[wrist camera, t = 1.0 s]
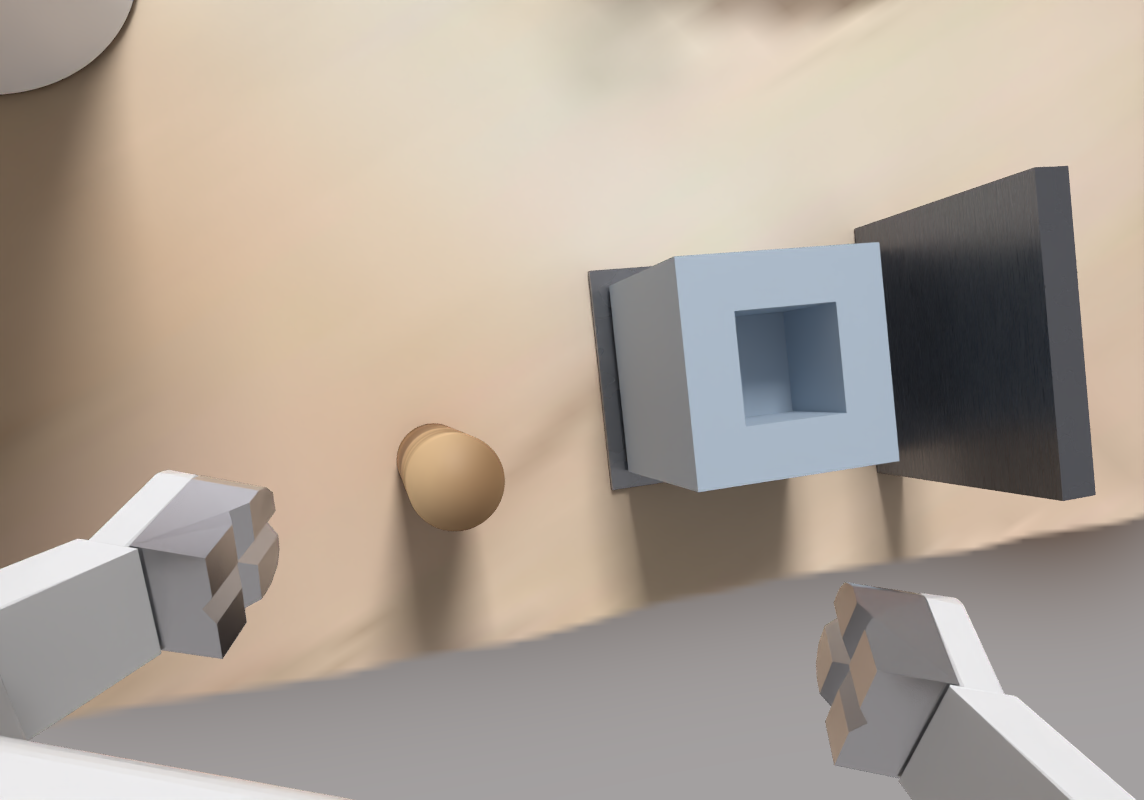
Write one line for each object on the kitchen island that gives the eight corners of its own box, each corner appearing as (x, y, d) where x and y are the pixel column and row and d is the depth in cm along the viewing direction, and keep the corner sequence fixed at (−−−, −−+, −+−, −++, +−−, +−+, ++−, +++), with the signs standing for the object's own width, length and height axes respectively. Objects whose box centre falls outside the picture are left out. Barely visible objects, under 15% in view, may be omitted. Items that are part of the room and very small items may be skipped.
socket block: (628, 471, 46) (698, 492, 36) (609, 286, 45) (674, 256, 35) (793, 447, 48) (899, 461, 39) (776, 272, 48) (879, 241, 38)
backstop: (613, 514, 46) (715, 564, 32) (585, 246, 45) (677, 183, 32) (903, 468, 51) (1095, 494, 38) (880, 227, 51) (1067, 165, 37)
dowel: (385, 479, 43) (391, 511, 31) (413, 412, 43) (430, 419, 31) (452, 504, 44) (482, 544, 32) (479, 439, 44) (519, 455, 32)
